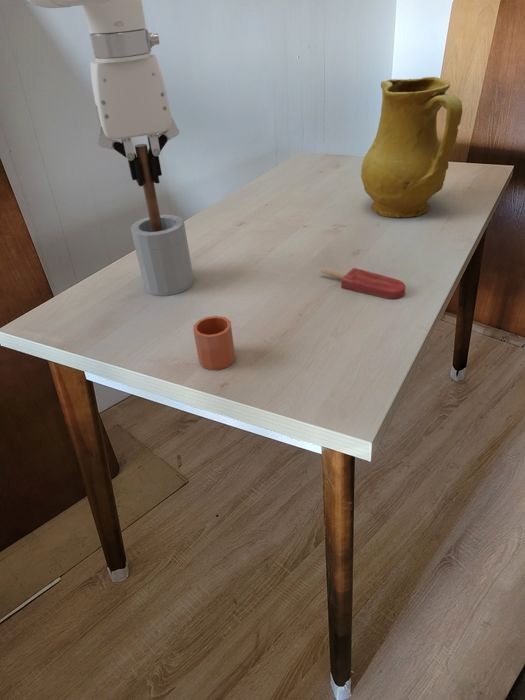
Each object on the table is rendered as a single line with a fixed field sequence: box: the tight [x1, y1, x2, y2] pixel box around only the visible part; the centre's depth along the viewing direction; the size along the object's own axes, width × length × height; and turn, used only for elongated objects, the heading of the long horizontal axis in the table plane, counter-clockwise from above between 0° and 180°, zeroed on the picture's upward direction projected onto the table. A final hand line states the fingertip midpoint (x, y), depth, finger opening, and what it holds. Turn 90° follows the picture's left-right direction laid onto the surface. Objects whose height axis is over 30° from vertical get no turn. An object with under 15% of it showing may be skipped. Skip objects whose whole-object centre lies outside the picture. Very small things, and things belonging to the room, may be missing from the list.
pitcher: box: [360, 76, 463, 219], centre depth 105 cm, size 17×19×25 cm
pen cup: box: [192, 315, 236, 371], centre depth 71 cm, size 5×5×6 cm
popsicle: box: [320, 267, 406, 300], centre depth 86 cm, size 4×2×15 cm
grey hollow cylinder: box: [130, 214, 194, 297], centre depth 89 cm, size 9×9×11 cm
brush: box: [134, 143, 163, 232], centre depth 84 cm, size 3×3×20 cm
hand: (147, 181), depth 81 cm, fingers closed on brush
